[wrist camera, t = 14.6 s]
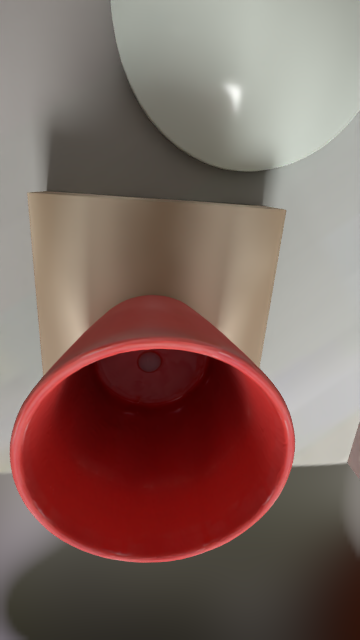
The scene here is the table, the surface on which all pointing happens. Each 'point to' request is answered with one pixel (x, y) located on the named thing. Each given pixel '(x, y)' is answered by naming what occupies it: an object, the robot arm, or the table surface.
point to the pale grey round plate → (243, 74)
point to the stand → (151, 262)
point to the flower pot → (151, 437)
